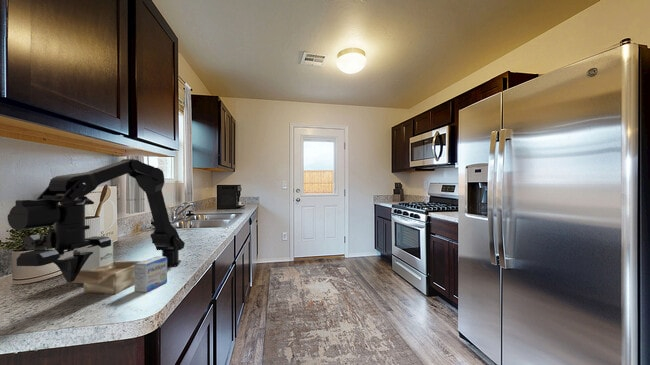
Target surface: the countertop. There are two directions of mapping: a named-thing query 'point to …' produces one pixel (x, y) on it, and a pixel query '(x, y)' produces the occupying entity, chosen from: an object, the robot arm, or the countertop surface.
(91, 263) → the supplement box
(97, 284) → the birch box
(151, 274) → the medicine box
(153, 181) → the robot arm
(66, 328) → the countertop surface
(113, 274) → the lid
